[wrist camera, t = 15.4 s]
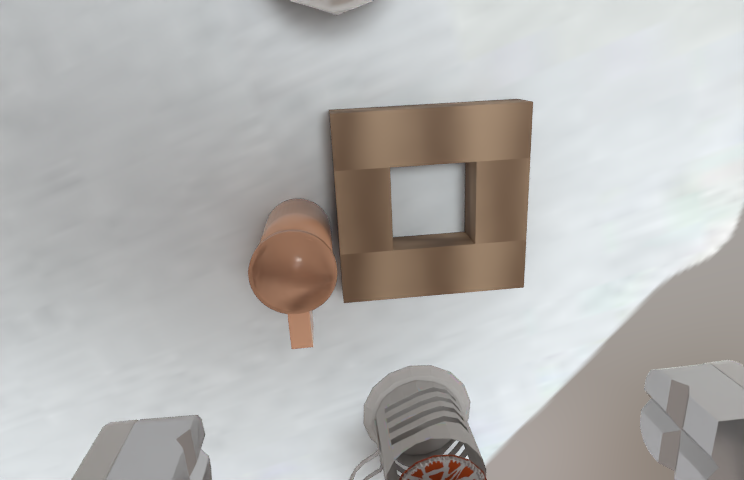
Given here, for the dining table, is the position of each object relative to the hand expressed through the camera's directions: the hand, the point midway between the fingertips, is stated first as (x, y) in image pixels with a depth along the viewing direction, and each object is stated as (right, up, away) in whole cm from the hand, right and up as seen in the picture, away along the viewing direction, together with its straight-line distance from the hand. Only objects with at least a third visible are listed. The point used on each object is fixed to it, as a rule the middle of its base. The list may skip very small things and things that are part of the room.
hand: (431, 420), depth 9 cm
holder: (+3, +7, +31) cm, 32 cm away
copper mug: (-7, +3, +31) cm, 32 cm away
